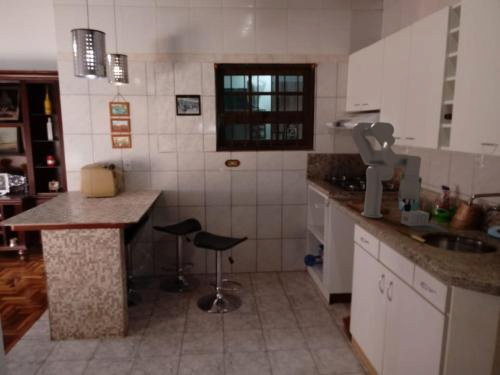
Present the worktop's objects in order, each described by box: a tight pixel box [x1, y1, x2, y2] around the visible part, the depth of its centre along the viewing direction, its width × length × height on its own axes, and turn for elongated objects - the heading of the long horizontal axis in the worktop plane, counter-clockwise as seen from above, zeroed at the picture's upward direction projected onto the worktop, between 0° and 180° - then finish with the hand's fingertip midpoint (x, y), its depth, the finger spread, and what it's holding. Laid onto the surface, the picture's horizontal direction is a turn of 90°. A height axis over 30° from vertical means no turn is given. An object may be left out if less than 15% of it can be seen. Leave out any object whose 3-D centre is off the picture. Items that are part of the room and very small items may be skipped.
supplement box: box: [400, 210, 430, 227], centre depth 205 cm, size 7×7×13 cm
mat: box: [408, 222, 450, 234], centre depth 202 cm, size 18×18×1 cm
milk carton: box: [397, 172, 423, 211], centre depth 246 cm, size 9×9×25 cm
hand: (407, 211), depth 201 cm, fingers closed
